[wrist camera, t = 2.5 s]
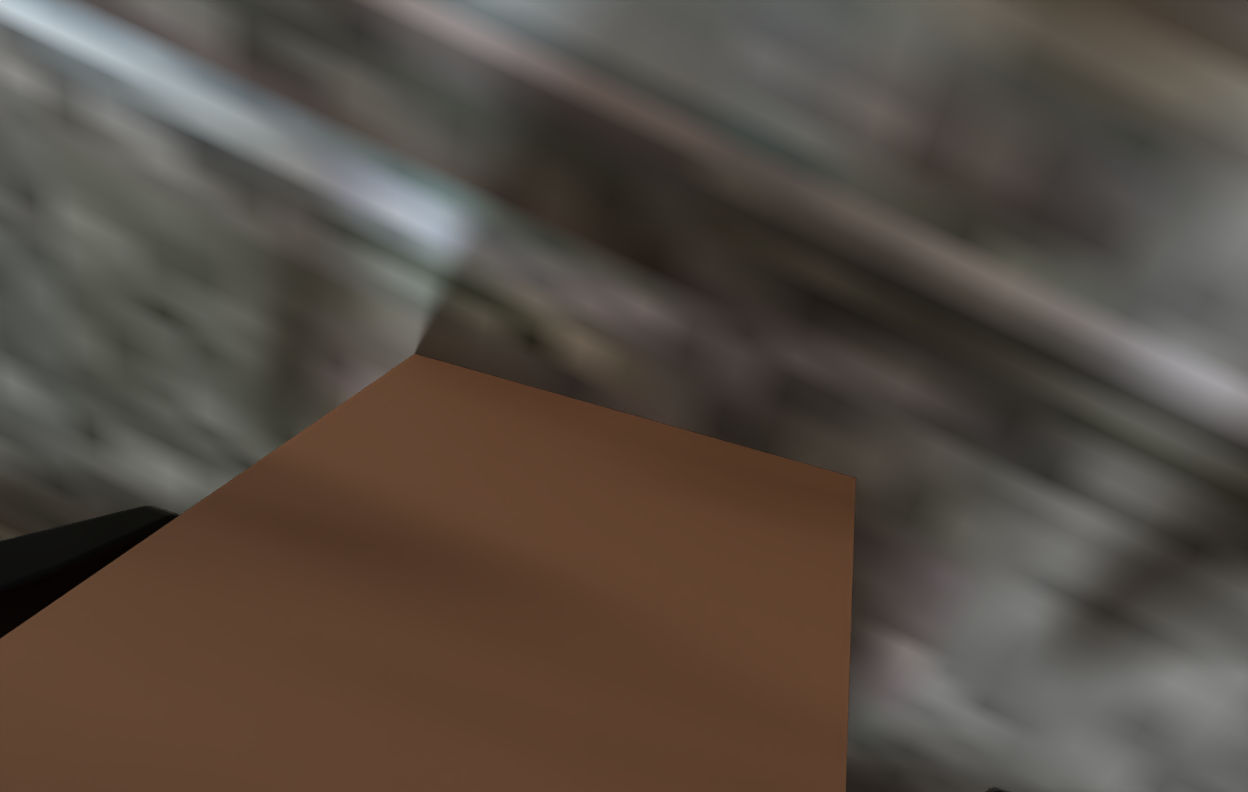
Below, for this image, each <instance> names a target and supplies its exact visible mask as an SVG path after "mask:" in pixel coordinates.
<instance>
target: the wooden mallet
mask: <svg viewBox="0 0 1248 792" xmlns="http://www.w3.org/2000/svg"><path fill="white" fill-rule="evenodd" d="M855 487H856V478H854V477H851V476H847V475H844V474H840V473H837V472H833V471H830V470H826V469H822V468H819V467H815V466H812V465H808V464H805V463H801V462H798V461H794V460H790V459H787V458H783V457H780V456H776V455H773V454H769V453H766V452H762V451H758V450H755V449H751V448H748V447H744V446H741V445H737V444H734V443H730V442H726V441H723V440H719V439H716V438H712V437H709V436H705V435H702V434H698V433H694V432H691V431H687V430H684V429H680V428H677V427H673V426H670V425H666V424H662V423H659V422H655V421H652V420H648V419H645V418H641V417H638V416H634V415H630V414H627V413H623V412H620V411H616V410H613V409H609V408H606V407H602V406H598V405H595V404H591V403H588V402H584V401H581V400H577V399H574V398H570V397H566V396H563V395H559V394H556V393H552V392H549V391H545V390H542V389H538V388H534V387H531V386H527V385H524V384H520V383H517V382H513V381H510V380H506V379H502V378H499V377H495V376H492V375H488V374H485V373H481V372H478V371H474V370H470V369H467V368H463V367H460V366H456V365H453V364H449V363H446V362H442V361H438V360H435V359H431V358H428V357H424V356H421V355H417V354H414V355H412V356H411V357H409V358H408V359H406V360H405V361H404V362H402V363H401V364H399V365H398V366H396V367H395V368H393V369H392V370H390V371H389V372H388V373H386V374H385V375H383V376H382V377H380V378H379V379H377V380H376V381H374V382H373V383H372V384H370V385H369V386H367V387H366V388H364V389H363V390H361V391H360V392H358V393H357V394H356V395H354V396H353V397H351V398H350V399H348V400H347V401H345V402H344V403H342V404H341V405H340V406H338V407H337V408H335V409H334V410H332V411H331V412H329V413H328V414H326V415H325V416H324V417H322V418H321V419H319V420H318V421H316V422H315V423H313V424H312V425H310V426H309V427H308V428H306V429H305V430H303V431H302V432H300V433H299V434H297V435H296V436H294V437H293V438H292V439H290V440H289V441H287V442H286V443H284V444H283V445H281V446H280V447H278V448H277V449H276V450H274V451H273V452H271V453H270V454H268V455H267V456H265V457H264V458H262V459H261V460H260V461H258V462H257V463H255V464H254V465H252V466H251V467H249V468H248V469H246V470H245V471H244V472H242V473H241V474H239V475H238V476H236V477H235V478H233V479H232V480H230V481H229V482H228V483H226V484H225V485H223V486H222V487H220V488H219V489H217V490H216V491H214V492H213V493H212V494H210V495H209V496H207V497H206V498H204V499H203V500H201V501H200V502H198V503H197V504H196V505H194V506H193V507H191V508H190V509H188V510H187V511H185V512H184V513H182V514H181V515H180V516H178V517H177V518H175V519H174V520H172V521H171V522H169V523H168V524H166V525H165V526H164V527H162V528H161V529H159V530H158V531H156V532H155V533H153V534H152V535H150V536H149V537H148V538H146V539H145V540H143V541H142V542H140V543H139V544H137V545H136V546H134V547H133V548H132V549H130V550H129V551H127V552H126V553H124V554H123V555H121V556H120V557H118V558H117V559H116V560H114V561H113V562H111V563H110V564H108V565H107V566H105V567H104V568H102V569H101V570H100V571H98V572H97V573H95V574H94V575H92V576H91V577H89V578H88V579H86V580H85V581H84V582H82V583H81V584H79V585H78V586H76V587H75V588H73V589H72V590H70V591H69V592H68V593H66V594H65V595H63V596H62V597H60V598H59V599H57V600H56V601H54V602H53V603H52V604H50V605H49V606H47V607H46V608H44V609H43V610H41V611H40V612H38V613H37V614H36V615H34V616H33V617H31V618H30V619H28V620H27V621H25V622H24V623H22V624H21V625H20V626H18V627H17V628H15V629H14V630H12V631H11V632H9V633H8V634H6V635H5V636H4V637H2V638H1V639H0V792H846V768H847V737H848V706H849V675H850V644H851V612H852V581H853V550H854V519H855Z"/></svg>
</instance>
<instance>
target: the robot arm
mask: <svg viewBox="0 0 1248 792" xmlns="http://www.w3.org/2000/svg"><path fill="white" fill-rule="evenodd" d="M178 516H180V515H178V514H176V513H173V512H170V511H167V510H164V509H161V508H158V507H155V506H142V507H138V508H134V509H130V510H126V511H121V512H117V513H113V514H109V515H105V516H101V517H97V518H93V519H89V520H85V521H81V522H76V523H72V524H68V525H64V526H60V527H56V528H52V529H48V530H44V531H40V532H36V533H32V534H27V535H23V536H19V537H15V538H11V539H7V540H3V541H0V639H1V638H2V637H4V636H5V635H6V634H8V633H9V632H11V631H12V630H14V629H15V628H17V627H18V626H20V625H21V624H22V623H24V622H25V621H27V620H28V619H30V618H31V617H33V616H34V615H36V614H37V613H38V612H40V611H41V610H43V609H44V608H46V607H47V606H49V605H50V604H52V603H53V602H54V601H56V600H57V599H59V598H60V597H62V596H63V595H65V594H66V593H68V592H69V591H70V590H72V589H73V588H75V587H76V586H78V585H79V584H81V583H82V582H84V581H85V580H86V579H88V578H89V577H91V576H92V575H94V574H95V573H97V572H98V571H100V570H101V569H102V568H104V567H105V566H107V565H108V564H110V563H111V562H113V561H114V560H116V559H117V558H118V557H120V556H121V555H123V554H124V553H126V552H127V551H129V550H130V549H132V548H133V547H134V546H136V545H137V544H139V543H140V542H142V541H143V540H145V539H146V538H148V537H149V536H150V535H152V534H153V533H155V532H156V531H158V530H159V529H161V528H162V527H164V526H165V525H166V524H168V523H169V522H171V521H172V520H174V519H175V518H177V517H178ZM985 792H1009V791H1006V790H1003V789H1000V788H996V787H993V788H989V789H988V790H987V791H985Z"/></svg>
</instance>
